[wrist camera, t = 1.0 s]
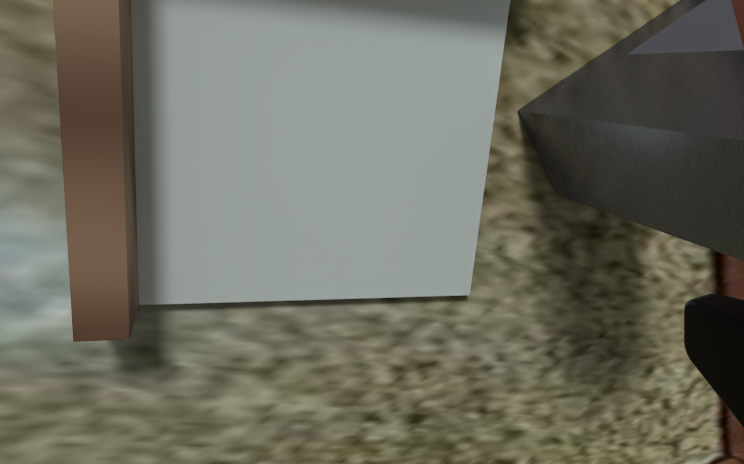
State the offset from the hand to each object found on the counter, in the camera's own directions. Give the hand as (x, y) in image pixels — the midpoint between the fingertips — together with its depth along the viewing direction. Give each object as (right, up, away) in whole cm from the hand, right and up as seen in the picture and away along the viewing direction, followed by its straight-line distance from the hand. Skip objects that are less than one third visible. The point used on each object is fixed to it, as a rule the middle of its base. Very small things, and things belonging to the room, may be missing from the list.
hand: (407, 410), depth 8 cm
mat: (-3, +7, +11) cm, 13 cm away
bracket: (+10, +8, +14) cm, 19 cm away
